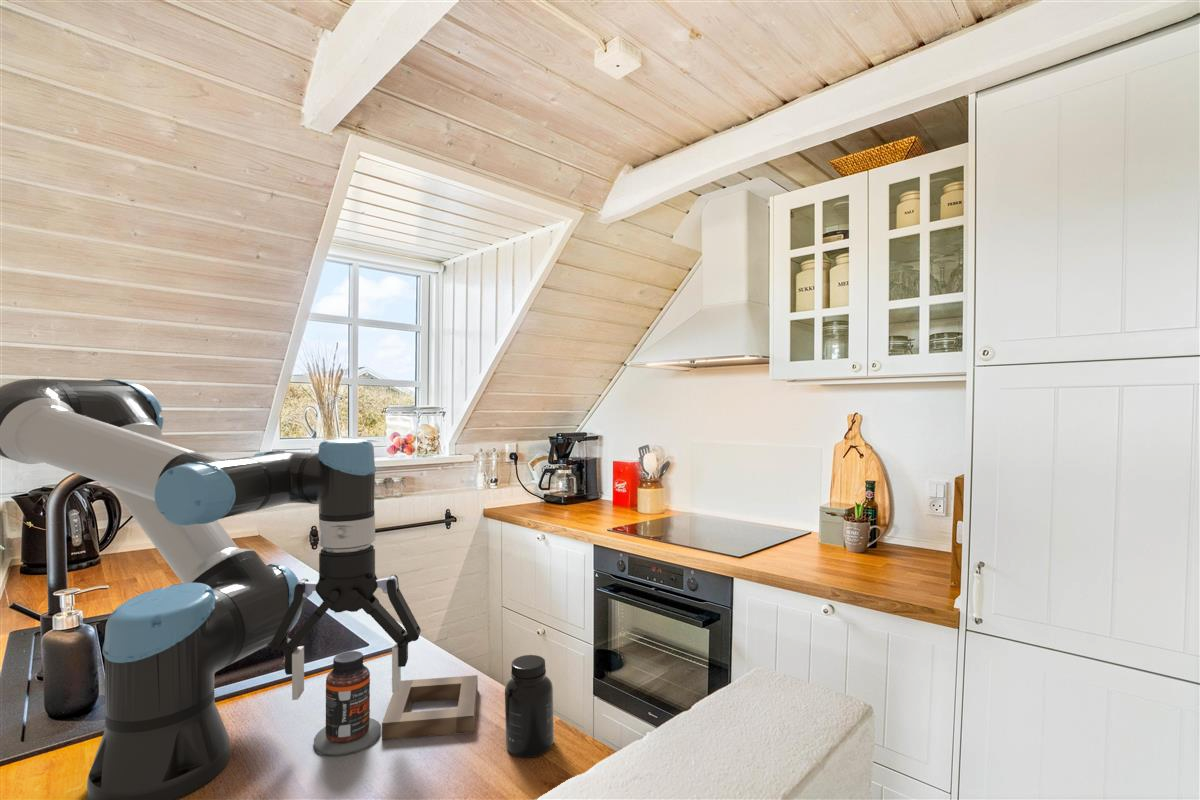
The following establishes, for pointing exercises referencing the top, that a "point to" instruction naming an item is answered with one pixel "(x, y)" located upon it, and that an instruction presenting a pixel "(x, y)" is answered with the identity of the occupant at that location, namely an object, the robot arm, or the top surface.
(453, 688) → the frame
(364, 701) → the supplement bottle
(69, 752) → the top surface
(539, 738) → the supplement bottle
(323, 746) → the slate coaster
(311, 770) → the top surface
